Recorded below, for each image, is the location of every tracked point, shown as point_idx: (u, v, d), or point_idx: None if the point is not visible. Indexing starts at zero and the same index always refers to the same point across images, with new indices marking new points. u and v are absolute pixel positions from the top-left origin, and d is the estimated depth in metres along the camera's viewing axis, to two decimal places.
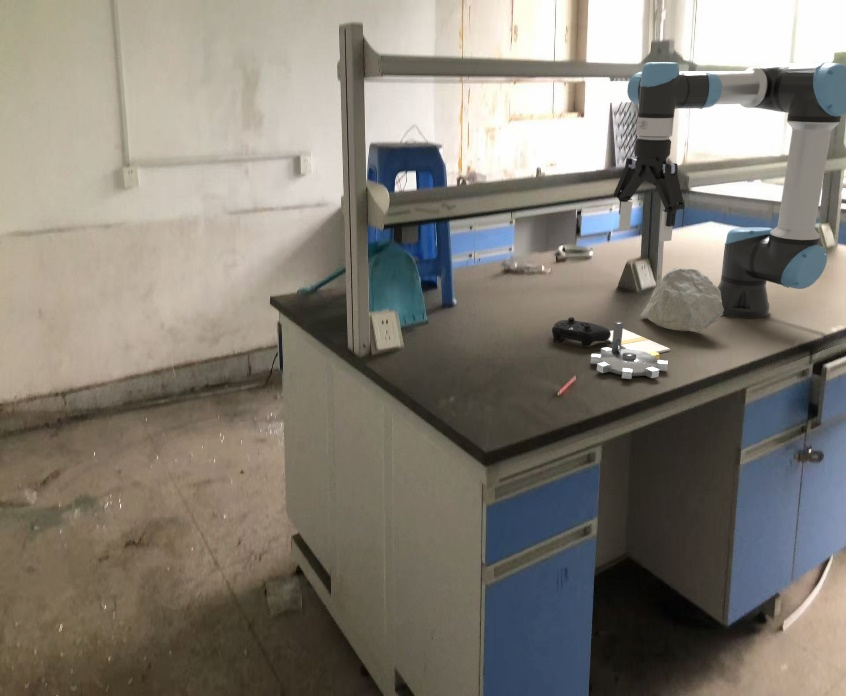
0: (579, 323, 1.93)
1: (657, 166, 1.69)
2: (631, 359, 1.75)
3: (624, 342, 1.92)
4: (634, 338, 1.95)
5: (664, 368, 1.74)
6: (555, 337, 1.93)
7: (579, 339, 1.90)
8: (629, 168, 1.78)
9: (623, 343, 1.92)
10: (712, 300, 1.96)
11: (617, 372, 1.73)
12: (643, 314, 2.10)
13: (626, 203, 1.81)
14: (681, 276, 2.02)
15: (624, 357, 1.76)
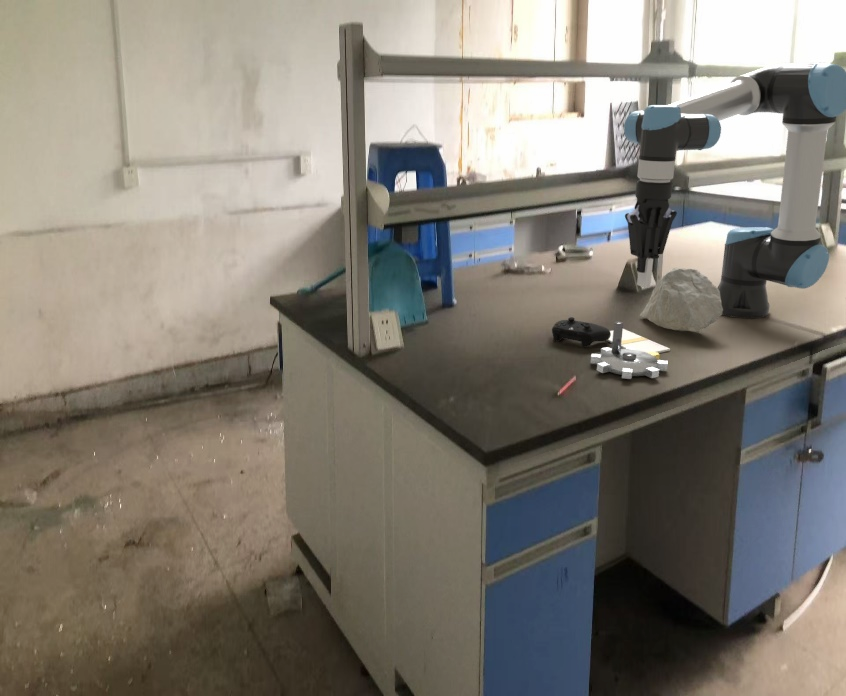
0: (579, 323, 1.93)
1: None
2: (631, 359, 1.75)
3: (624, 342, 1.92)
4: (634, 338, 1.95)
5: (664, 368, 1.74)
6: (555, 337, 1.93)
7: (579, 339, 1.90)
8: (662, 217, 1.76)
9: (623, 343, 1.92)
10: (711, 300, 1.96)
11: (617, 372, 1.73)
12: (643, 314, 2.10)
13: None
14: (681, 276, 2.02)
15: (624, 357, 1.76)
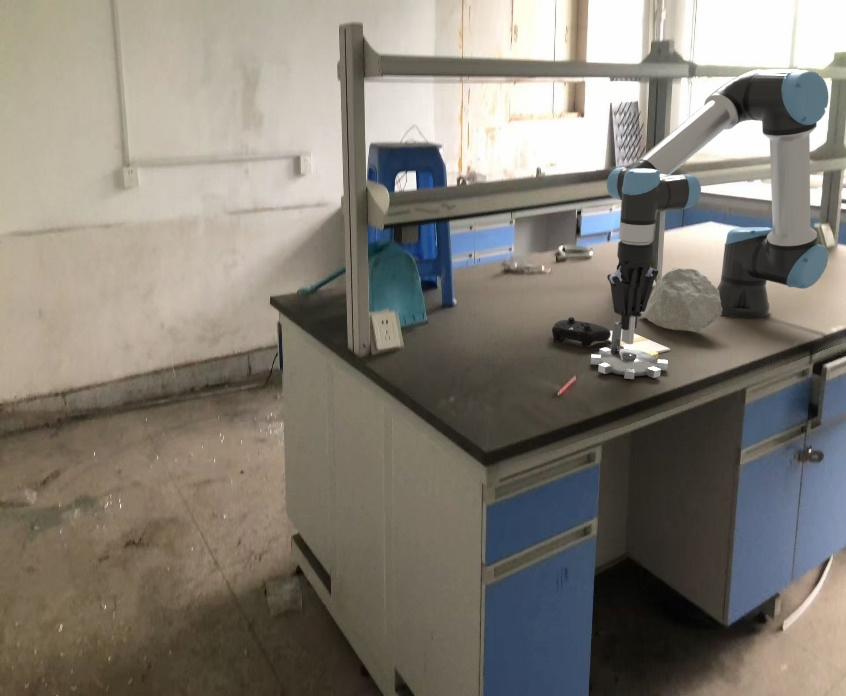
0: (579, 323, 1.93)
1: None
2: (631, 359, 1.75)
3: (624, 342, 1.92)
4: (634, 338, 1.95)
5: (664, 367, 1.75)
6: (555, 337, 1.93)
7: (579, 339, 1.90)
8: (644, 275, 1.79)
9: (623, 343, 1.92)
10: (711, 300, 1.96)
11: (619, 372, 1.72)
12: (642, 314, 2.10)
13: None
14: (680, 276, 2.02)
15: (624, 357, 1.76)
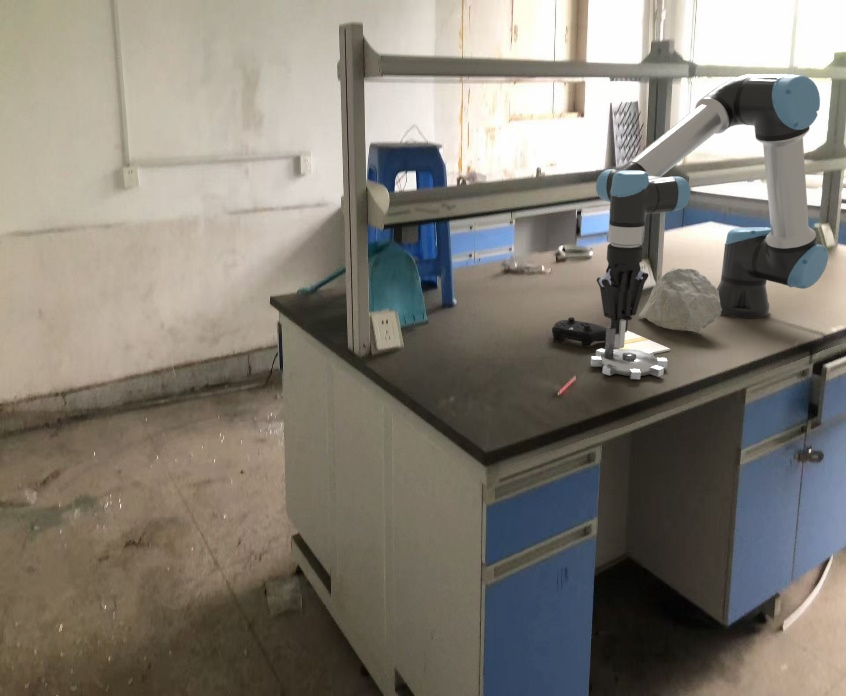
0: (579, 323, 1.93)
1: None
2: (635, 358, 1.76)
3: (624, 342, 1.92)
4: (634, 338, 1.95)
5: None
6: (555, 337, 1.93)
7: (579, 339, 1.90)
8: (635, 279, 1.77)
9: None
10: (710, 300, 1.96)
11: (645, 373, 1.72)
12: (642, 314, 2.10)
13: None
14: (680, 276, 2.02)
15: (630, 358, 1.75)
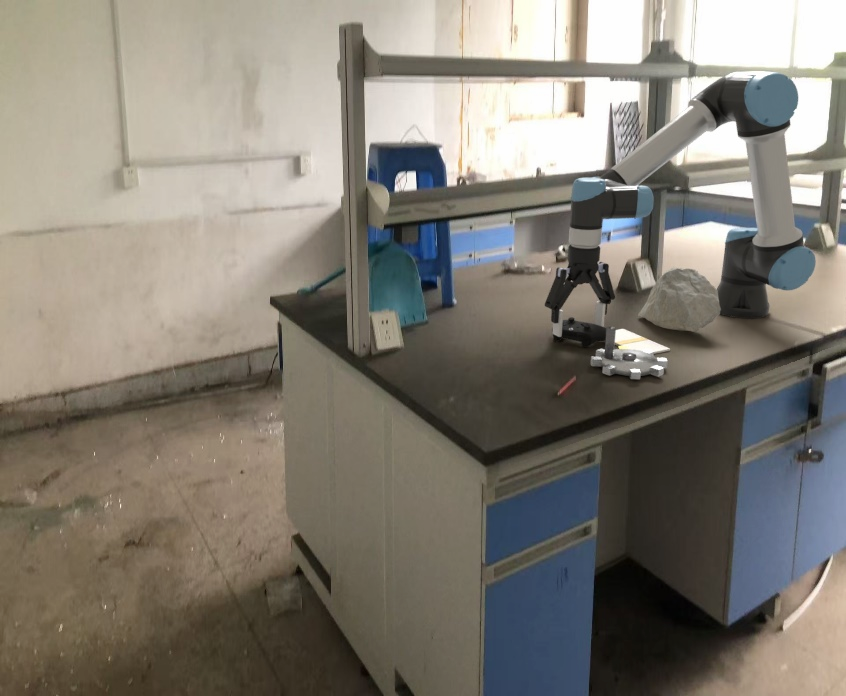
0: (579, 323, 1.93)
1: None
2: (635, 358, 1.76)
3: (624, 342, 1.92)
4: (634, 338, 1.95)
5: None
6: (555, 337, 1.93)
7: (579, 339, 1.90)
8: None
9: (623, 343, 1.92)
10: (709, 300, 1.96)
11: (645, 373, 1.72)
12: (641, 314, 2.11)
13: (598, 303, 1.95)
14: (679, 275, 2.02)
15: (630, 358, 1.75)
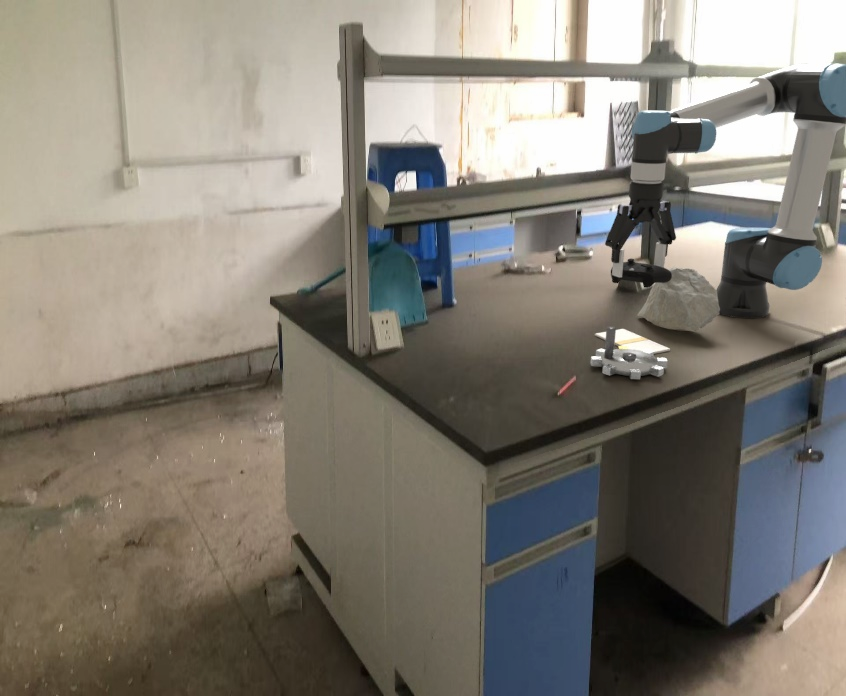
0: (639, 264, 1.87)
1: None
2: (635, 358, 1.76)
3: (624, 342, 1.92)
4: (634, 338, 1.95)
5: None
6: (614, 279, 1.87)
7: (640, 280, 1.84)
8: (660, 210, 1.86)
9: (623, 343, 1.92)
10: (708, 300, 1.96)
11: (645, 373, 1.72)
12: (640, 314, 2.11)
13: (658, 244, 1.88)
14: (678, 275, 2.02)
15: (630, 358, 1.75)
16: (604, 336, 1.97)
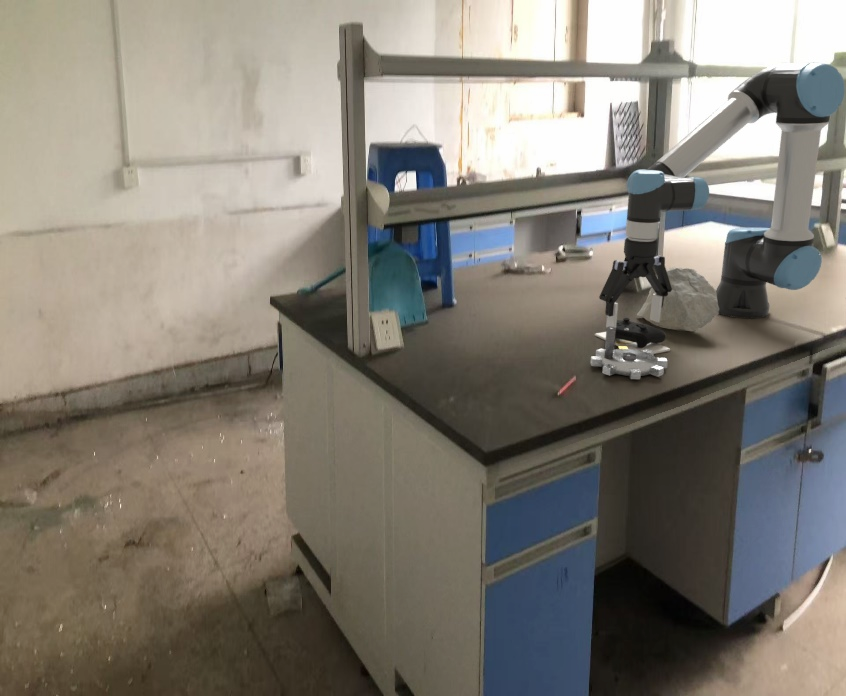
0: (634, 324, 1.92)
1: None
2: (635, 358, 1.76)
3: (624, 342, 1.92)
4: None
5: None
6: None
7: (634, 340, 1.89)
8: None
9: (623, 343, 1.92)
10: (707, 300, 1.96)
11: (645, 373, 1.72)
12: (640, 314, 2.11)
13: (655, 296, 1.93)
14: (677, 275, 2.02)
15: (630, 358, 1.75)
16: (604, 336, 1.97)
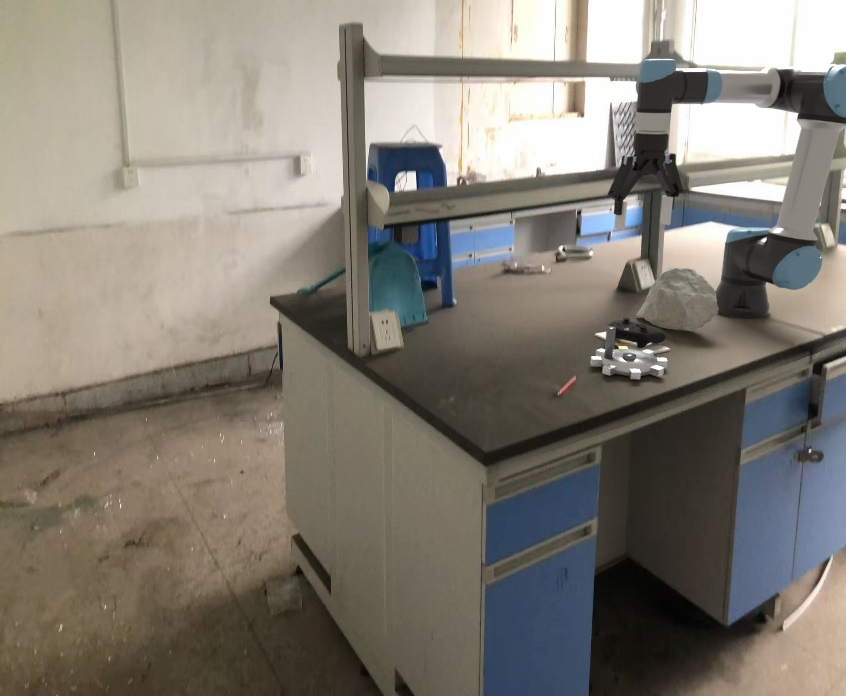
0: (634, 324, 1.92)
1: None
2: (635, 358, 1.76)
3: (624, 342, 1.92)
4: None
5: None
6: None
7: (634, 340, 1.89)
8: (665, 162, 1.82)
9: (623, 343, 1.92)
10: (707, 300, 1.96)
11: (645, 373, 1.72)
12: (639, 314, 2.11)
13: (665, 197, 1.85)
14: (677, 275, 2.03)
15: (630, 358, 1.75)
16: (604, 336, 1.97)
